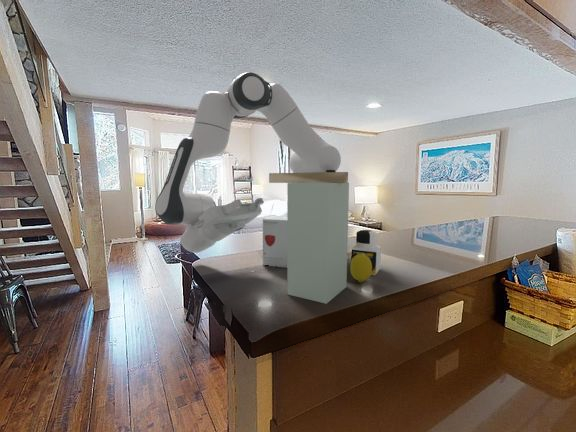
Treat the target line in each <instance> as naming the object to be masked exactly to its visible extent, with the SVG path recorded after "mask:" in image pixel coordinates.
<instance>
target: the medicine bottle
mask: <svg viewBox="0 0 576 432" xmlns="http://www.w3.org/2000/svg"><path fill="white" fill-rule="evenodd" d="M355 236H356V239H355V242H356V243H355V244H356V245H355V246H353V247H352V248H351V261H352V258H353V257H354V256H355V255H357V254H360V253H363V254H364V255H366V256H368V257H369V259H370V260H371V263H372V272H371V275H370V276H376V275H377V274H378V272H379V271H380V269H381V257H382V247H381V246H380V245H378V243H379V241H378V238H379V234H378V232H377V231H375V230H370V229H362V230H358V231H356V235H355Z"/></svg>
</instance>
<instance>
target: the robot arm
mask: <svg viewBox="0 0 576 432" xmlns="http://www.w3.org/2000/svg"><path fill="white" fill-rule="evenodd" d="M256 111H257V112H259V113H261V114H262V115H263V116H264V117H265V118H266V120H267V121H268V123H269V124H270V125H271V127H272V129H273V130H274V132H275V133H276V135H277V136H278V137H279V139H280V141H281V142H282V143H283V145H284V146H285V147H288V148H289V149H290V150H291V151H292V152H294V153H293V154H292V155H291V156H290V158H289V168H290V170H291V171H292V173H312V172H326V171H327V170H335V171H336V172H338V170H339V168H340V166H341V162H342V157H341V153H340V151H339V150H338V149H337V148H336V147H335V146H333V145H331V144H329V143H328V142H327V141H325V140H324V139H323V138H322V137H321V136H320V135H319V134H318V133H317V132H316V131H315V130H314V129H313V128H312V126H311V125H310V124H309V123H308V120H307V119H306V117H305V115H304V114H303V113H302V111H301V110H300V108H299V107H298V105H297V103H296V102H295V101H294V99H293V97H291V94H289V93H288V91H287V90H286V89H285V88H284V86H283V85H281V84H280V83H278V82H274V83H269V82H268V81H266V80H265V79H264V78H263V77H262V76H260V75H259V74H258V73H255V72H250V71H249V72H244V73H241V74H239V75H238V76H237V77H236V78H235V79H234V80H233V81H232V82H231V83H230V85H229V86H228V87H227V89H226V90H225V92H220V91H217V90H216V91H215V90H214V91H213V90H211V91H207V92H205V93H204V94H203V95H202V96H201V99H200V101H199V104H198V107H197V110H196V113H195V114H196V115H195V118H194V124H193V127H192V130H191V132H190V133H189V135H188V136H187V137H184V138H182V140H181V141H180V142H179V144H178V147H177V148H176V151H175V153H174V157H173V159H172V161H171V165H170V167H169V170H168V173H167V176H166V179H165V182H164V184H163V186H162V189H161V192H160V193H159V195H158V197H157V199H156V201H155V206H154V211H155V213H156V215H157V217H158V218H159V219H160V220H161V221H162V222H163V223H164V224H166V225H180V224H182V225H185V226H186V227H185V229H184V230H185V231H184V232H183V234H181V236H180V238H179V239H180V241H179V242H180V243H181V246H182V248H184V249H185V250H186V251H187V252H189V253H194V254H197V253H201V252H204V251H205V250H207V249H209V248H211V247H212V246H214V245H215V244H216V243H217V242H219V241H221V240H223V239H225V238H226V237H229V236H230V235H232V234H233V233H236V232H237V231H240V230H242V229H245V228H246V225H247V224H249V223H250V222H252V221H254V219H256V218H257V217H258V216H260V215H261V214H262V212H263V210H262V209H263V208H261V205H264V203H265V202H264V199H263V197H257V198H256V199H255V200H254V201H252V202H243V203H242V201H241V200H240V199H234V200H233V201H232V202H230V203H228V204H224V205H217V204H216V202H215V201H214V199H213V198H212V197H211V196H209V195H205V194H198V193H192V192H185V191H184V188H185V185H186V181H187V179H188V175H189V172H190V170H191V167H192V166H193V164H194V163H195V162H197V161H198V160H201V159H207V158H213V157H216V156H218V155H221V153H223V152H224V151H225V150H226V148H227V146H228V144H229V139H230V132H231V126H232V122H233V119H242V118H243V119H244V118H246V117H249V116H250V115H252V114H254V113H256Z"/></svg>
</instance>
